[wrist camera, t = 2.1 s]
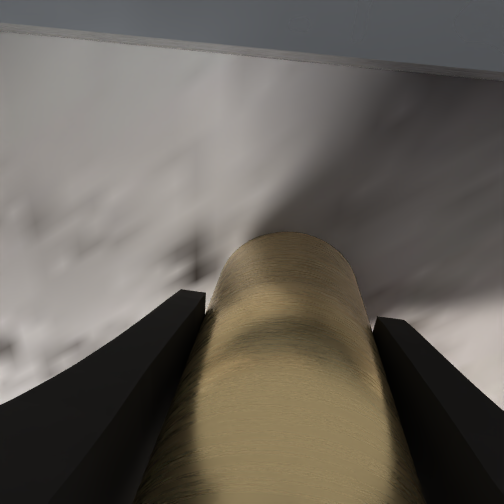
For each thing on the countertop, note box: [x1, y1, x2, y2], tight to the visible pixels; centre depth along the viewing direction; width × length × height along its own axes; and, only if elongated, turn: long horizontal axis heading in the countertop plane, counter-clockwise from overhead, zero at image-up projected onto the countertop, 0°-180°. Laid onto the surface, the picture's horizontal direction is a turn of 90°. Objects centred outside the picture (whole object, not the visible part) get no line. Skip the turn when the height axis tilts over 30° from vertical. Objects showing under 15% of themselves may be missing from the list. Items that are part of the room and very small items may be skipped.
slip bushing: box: [132, 232, 426, 504], centre depth 7 cm, size 4×4×7 cm
